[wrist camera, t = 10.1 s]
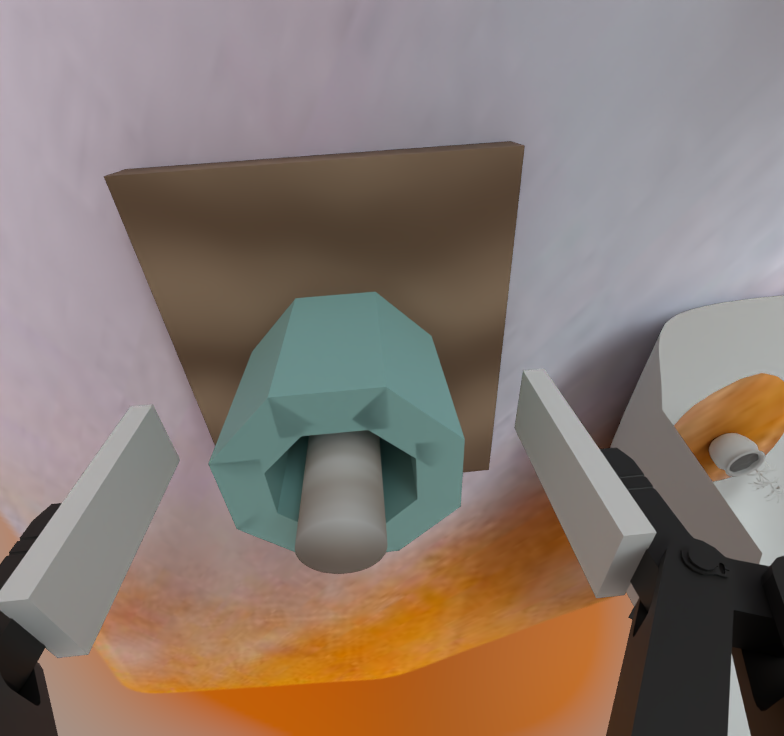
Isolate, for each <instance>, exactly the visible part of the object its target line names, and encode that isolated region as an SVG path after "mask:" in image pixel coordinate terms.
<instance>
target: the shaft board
mask: <svg viewBox="0 0 784 736" xmlns="http://www.w3.org/2000/svg"><path fill="white" fill-rule="evenodd" d="M524 147H525V146H524V145H521V144H518V143H514V142H511V141H507V142H494V143H480V144H466V145H452V146H439V147H425V148H411V149H397V150H384V151H370V152H356V153H342V154H329V155H315V156H301V157H288V158H274V159H260V160H246V161H233V162H219V163H205V164H191V165H178V166H164V167H150V168H136V169H124V170H121V171H119V172H116V173H113V174H110V175H107V176H104V178H105V180H106V183H107V185H108V188H109V190H110V192H111V195H112V197H113V200H114V202H115V205H116V207H117V209H118V212H119V214H120V217H121V219H122V222H123V224H124V226H125V229H126V231H127V234H128V236H129V238H130V241H131V243H132V246H133V248H134V251H135V253H136V255H137V258H138V260H139V263H140V265H141V267H142V270H143V272H144V275H145V277H146V280H147V282H148V284H149V287H150V289H151V292H152V294H153V296H154V299H155V301H156V304H157V306H158V309H159V311H160V313H161V316H162V318H163V321H164V323H165V326H166V328H167V330H168V333H169V335H170V338H171V340H172V342H173V345H174V347H175V350H176V352H177V355H178V357H179V359H180V362H181V364H182V367H183V369H184V371H185V374H186V376H187V379H188V381H189V384H190V386H191V388H192V391H193V393H194V396H195V398H196V400H197V403H198V405H199V408H200V410H201V413H202V415H203V417H204V420H205V422H206V425H207V427H208V429H209V432H210V434H211V437H212V439H213V442H214V444H215V446H216V443H217V441H218V438H219V436H220V433H221V430H222V428H223V425H224V423H225V420H226V418H227V415H228V412H229V410H230V407H231V405H232V402H233V400H234V397H235V394H236V392H237V389H238V387H239V384H240V381H241V379H242V376H243V374H244V371H245V369H246V366H247V363H248V361H249V358H250V356H251V353H252V351H253V350H254V349H255V347H256V346H257V345H258V344H259V343H260V341H261V340H262V339H263V338H264V336H265V335H266V334H267V333H268V332H269V330H270V329H271V328H272V327H273V325H274V324H275V323H276V322H277V320H278V319H279V318H280V317H281V316H282V314H283V313H284V312H285V311H286V309H287V308H288V307H289V306H290V305H291V303H292V302H293V301H294V300H295V298H304V297H317V296H329V295H341V294H353V293H365V292H377V293H378V294H379V295H380V296H382V297H383V298H384V299H385V300H387V301H388V302H389V303H390V304H392V305H393V306H394V307H396V308H397V309H398V310H399V311H401V312H402V313H403V314H404V315H406V316H407V317H408V318H409V319H411V320H412V321H413V322H415V323H416V324H417V325H418V326H420V327H421V328H422V329H423V330H425V331H426V332H427V333H428V334H430V335H431V336H432V339H433V342H434V345H435V348H436V351H437V354H438V358H439V361H440V364H441V367H442V370H443V373H444V376H445V379H446V382H447V386H448V389H449V392H450V395H451V398H452V401H453V404H454V407H455V410H456V413H457V417H458V420H459V423H460V426H461V429H462V432H463V435H464V438H465V444H464V460H463V472H471V471H481V470H489V462H490V453H491V444H492V435H493V426H494V417H495V408H496V399H497V390H498V381H499V372H500V363H501V354H502V345H503V336H504V327H505V318H506V309H507V300H508V291H509V282H510V273H511V264H512V255H513V246H514V237H515V228H516V219H517V210H518V201H519V192H520V183H521V174H522V165H523V156H524ZM386 551H387V531H386V518H385V505H384V492H383V479H382V466H381V453H380V440H379V436H377V435H376V434H374V433H372V432H371V431H369V430H363V431H352V432H341V433H331V434H320V435H309V440H308V448H307V455H306V463H305V471H304V479H303V487H302V494H301V502H300V510H299V518H298V526H297V533H296V541H295V553H296V555H297V557H298V558H299V560H300V561H301V562H302V563H303V564H305V565H306V566H308V567H310V568H312V569H314V570H317V571H320V572H325V573H333V574H344V573H353V572H357V571H361V570H364V569H366V568H369V567H371V566H373V565H374V564H376V563H377V562H378V561H380V560H381V559H382V557H383V556H384V555H385V553H386Z"/></svg>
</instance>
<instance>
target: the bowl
mask: <svg viewBox="0 0 784 736" xmlns="http://www.w3.org/2000/svg"><path fill="white" fill-rule="evenodd" d="M759 373H766V374H771V375H774V376H778V377H779V378H781V379H782V380H783V381H784V295H783V296H772V297H763V298H753V299H744V300H737V301H731V302H724V303H718V304H712V305H708V306H704V307H699V308H695V309H691V310H688V311H686V312H683V313H680V314H678V315H675V316H674V317H673V318H671V319H670V320H669V321H668V322H666V323H665V325H664V327H663V329H662V331H661V333H660V335H659V337H658V339H657V341H656V344H655V346H654V348H653V350H652V352H651V354H650V357H649V359H648V361H647V363H646V365H645V367H644V369H643V372H642V374H641V376H640V378H639V381H638V383H637V385H636V387H635V390H634V392H633V394H632V396H631V398H630V401H629V403H628V405H627V407H626V410H625V412H624V414H623V417H622V419H621V422H620V424H619V427H618V429H617V432H616V434H615V436H614V438H613V441H612V444H611V447H610V448H618V449H620V450H621V451H622V452H624V453H625V454H626V455H628V456H629V457H630V458H632V459H633V460H634V461H635V463H636V464H637V465H638V467H639V468H640V469H641V471H642V472H643V473H644V476H645V477H647V478H648V480H649V481H650V482H651V484H652V485H653V488H654V489H656V490H657V492H658V493H659V494H660V496H661V497H662V498H663V500H664V501H665V502H666V503H667V505H668V506H669V507H670V509H671V510H672V511H673V513H674V514H675V515H676V517H677V518H678V519H679V521H680V522H681V523H682V525H683V526H684V527H685V528H686V530H687V531H688V532H689V533H690V535H691V536H692V537H693V538H695V539H698V540H702V541H704V542H706V543H707V544H709V545H711V546H713V547H715V548H716V549H717V550H718V551H719V552H720V553H722V554H723V555H724V556H725V557H727V558H731V559H734V560H740V561H745V562H750V563H755V564H761V565H766V566H770V565H771V564H772V563H773V561H774V560H775V559H776V558H777V557H781V556H784V434H783V435H782V437H781V438H780V440H779V441H778V442H777V444H776V445H775V446H774V447H773V449H772V450H771V451H770V452H769V453H768V454H767V455H766V456H765V454H764V453H763V452H762V451H758V447H757V445H756V444H755V443H754V442H753V441H751V440H750V439H748V438H747V437H745V436H742V435H740V434H737V433H728V434H723V435H721V436H719V437H717V438H716V439H714V440H713V441H712V443H711V444H710V447H709V454H710V456H711V458H712V460H713V461H714V463H715V464H716V465H717V467H719V468H720V469H723V470H725V471H726V474H727V475H729V476H732V477H730V478H727V479H724V480H720V481H715V482H712V480H711V479H710V478H709V476H708V475H707V473H706V472H705V470H704V469H703V467H702V466H701V465H700V463H699V462H698V460H697V459H696V457H695V456H694V455H693V453H692V452H691V450H690V449H689V447H688V446H687V445H686V443H685V442H684V440H683V439H682V437H681V436H680V434H679V433H678V432H677V430H676V429H675V427H674V425H675V424H676V422H677V421H678V420H679V419H680V418H681V417H682V416H683V415H684V414H685V413H686V412H687V411H688V410H689V409H690V408H691V407H692V406H694V405H695V404H696V403H698V402H700V401H701V400H703V399H704V398H706V397H707V396H709V395H710V394H712V393H714V392H716V391H718V390H719V389H721V388H723V387H725V386H727V385H729V384H731V383H733V382H735V381H737V380H739V379H742V378H745V377H748V376H752V375H755V374H759ZM626 593H627V595H628V597H629V598H630V600H631V602H632V604H633V605H634V606H635V605H636V603H637V601H638V599H639V596H638V595H637V593H636V591H635V589H634V588H633V586H632V584H630V586H629V588H628V589H627V591H626ZM728 736H751V734H750V730H749V726H748V721H747V717H746V713H745V709H744V704H743V700H742V696H741V692H740V687H739V683H738V679H737V674H736V670H735V666H734V662H733V657H732V654H731V675H730V696H729V717H728Z"/></svg>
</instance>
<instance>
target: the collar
mask: <svg viewBox="0 0 784 736" xmlns="http://www.w3.org/2000/svg"><path fill="white" fill-rule="evenodd" d="M363 430H369V431H371V432H372V433H374V434H376V435H377V436H379V440H380V453H381V466H382V479H383V492H384V505H385V518H386V531H387V551H386V552H391V551H399V550H400V549H402V548H403V547H405V546H406V545H407V544H409V543H410V542H412V541H413V540H414V539H416V538H417V537H419V536H420V535H421V534H423V533H424V532H426V531H427V530H428V529H430V528H431V527H433V526H434V525H435V524H437V523H438V522H440V521H441V520H442V519H444V518H445V517H447V516H448V515H449V514H451V513H452V512H453V511H455V510H456V509H458V508H459V507H461V492H462V476H463V460H464V444H465V438H464V435H463V432H462V429H461V426H460V423H459V420H458V417H457V413H456V410H455V407H454V404H453V401H452V398H451V395H450V392H449V389H448V386H447V382H446V379H445V376H444V373H443V370H442V367H441V364H440V361H439V358H438V354H437V351H436V348H435V345H434V342H433V339H432V336H431V335H430V334H428V333H427V332H426V331H425V330H423V329H422V328H421V327H420V326H418V325H417V324H416V323H415V322H413V321H412V320H411V319H409V318H408V317H407V316H406V315H404V314H403V313H402V312H401V311H399V310H398V309H397V308H396V307H394V306H393V305H392V304H390V303H389V302H388V301H387V300H385V299H384V298H383V297H382V296H380V295H379V294H378V293H377V292H365V293H353V294H341V295H329V296H317V297H304V298H295V300H294V301H293V302H292V303H291V305H290V306H289V307H288V308H287V309H286V311H285V312H284V313H283V314H282V316H281V317H280V318H279V319H278V320H277V322H276V323H275V324H274V325H273V327H272V328H271V329H270V330H269V332H268V333H267V334H266V335H265V336H264V338H263V339H262V340H261V341H260V343H259V344H258V345H257V346H256V347H255V349H254V350H253V351H252V353H251V356H250V358H249V361H248V363H247V366H246V369H245V371H244V374H243V376H242V379H241V381H240V384H239V387H238V389H237V392H236V394H235V397H234V400H233V402H232V405H231V407H230V410H229V412H228V415H227V418H226V420H225V423H224V425H223V428H222V430H221V433H220V436H219V438H218V441H217V443H216V446H215V448H214V451H213V454H212V456H211V459H210V461H209V466H210V469H211V471H212V473H213V475H214V478H215V480H216V482H217V484H218V487H219V489H220V491H221V494H222V496H223V498H224V500H225V503H226V505H227V507H228V510H229V512H230V514H231V516H232V519H233V521H234V523H235V526H236V528H237V529H238V530H241V531H243V532H246V533H248V534H251V535H253V536H256V537H258V538H261V539H263V540H266V541H268V542H271V543H273V544H276V545H279V546H281V547H284V548H286V549H289V550H291V551H294V552H295V541H296V533H297V526H298V518H299V510H300V502H301V494H302V487H303V479H304V471H305V463H306V455H307V448H308V440H309V435H320V434H331V433H341V432H352V431H363Z"/></svg>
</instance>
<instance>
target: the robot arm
mask: <svg viewBox="0 0 784 736" xmlns="http://www.w3.org/2000/svg"><path fill="white" fill-rule="evenodd" d="M514 428H515V430H516V432H517V434H518V436H519V438H520V440H521V442H522V444H523V446H524V448H525V451H526V453H527V455H528V457H529V459H530V461H531V463H532V465H533V467H534V469H535V471H536V473H537V476H538V478H539V480H540V482H541V484H542V486H543V488H544V490H545V492H546V494H547V496H548V499H549V501H550V503H551V505H552V507H553V509H554V511H555V513H556V515H557V517H558V519H559V521H560V524H561V526H562V528H563V530H564V532H565V534H566V536H567V538H568V540H569V542H570V544H571V547H572V549H573V551H574V553H575V555H576V557H577V559H578V561H579V563H580V565H581V567H582V569H583V572H584V574H585V576H586V578H587V580H588V582H589V584H590V586H591V588H592V590H593V592H594V594H595V597H596V598H603V597H612V596H621V595H625V593H626V591H627V589H628V588H629V586H630V584H632V586H633V588H634V589H635V591H636V593H637V595H638V596H639V599H638V601H637V603H636V605H635V606H634V608H633V610H632V612H631V614H630V615H629V618H631V619H632V625H631V629H630V633H629V638H628V642H627V646H626V651H625V655H624V659H623V664H622V668H621V673H620V677H619V681H618V686H617V690H616V695H615V699H614V703H613V708H612V712H611V717H610V721H609V725H608V730H607V734H606V736H728V717H729V696H730V675H731V654H732V657H733V662H734V666H735V670H736V674H737V679H738V683H739V687H740V692H741V696H742V700H743V704H744V709H745V713H746V717H747V721H748V726H749V730H750V734H751V736H784V556H781V557H777V558H776V559H775V560H774V561H773V563H772V564H771V565H770V566H766V565H761V564H755V563H750V562H745V561H740V560H734V559H731V558H727V557H725V556H724V555H723V554H722V553H720V552H719V551H718V550H717V549H716V548H715V547H713V546H711V545H709V544H707V543H706V542H704V541H702V540H698V539H695V538H693V537H692V536H691V535H690V533H689V532H688V531H687V530H686V528H685V527H684V526H683V525H682V523H681V522H680V521H679V519H678V518H677V517H676V515H675V514H674V513H673V511H672V510H671V509H670V507H669V506H668V505H667V503H666V502H665V501H664V500H663V498H662V497H661V496H660V494H659V493H658V492H657V490H656V489H654V488H653V485H652V484H651V482H650V481H649V480H648V478H647V477H645V476H644V473H643V472H642V471H641V469H640V468H639V467H638V465H637V464H636V463H635V461H634V460H633V459H632V458H630V457H629V456H628V455H626V454H625V453H624V452H622V451H621V450H620V449H618V448H606V449H599V448H598V446H597V445H596V444H595V442H594V441H593V439H592V438H591V436H590V435H589V433H588V432H587V430H586V429H585V428H584V426H583V425H582V423H581V422H580V420H579V419H578V417H577V416H576V414H575V413H574V412H573V410H572V409H571V407H570V406H569V404H568V403H567V401H566V400H565V398H564V397H563V396H562V394H561V393H560V391H559V390H558V388H557V387H556V385H555V384H554V382H553V381H552V380H551V378H550V377H549V375H548V374H547V372H546V371H545V369H535V370H524V371H523V374H522V381H521V388H520V394H519V401H518V408H517V414H516V421H515V427H514ZM179 461H180V459H179V457H178V455H177V453H176V451H175V449H174V447H173V445H172V443H171V441H170V439H169V436H168V434H167V432H166V430H165V428H164V426H163V424H162V422H161V420H160V418H159V416H158V414H157V412H156V410H155V408H154V406H153V404H152V405H142V406H131V407H130V408H129V409H128V411H127V412H126V413H125V415H124V416H123V418H122V419H121V420H120V422H119V423H118V425H117V426H116V428H115V429H114V430H113V432H112V433H111V435H110V436H109V437H108V439H107V440H106V442H105V443H104V444H103V446H102V447H101V449H100V450H99V452H98V453H97V454H96V456H95V457H94V459H93V460H92V461H91V463H90V464H89V466H88V467H87V469H86V470H85V471H84V473H83V474H82V476H81V477H80V478H79V480H78V481H77V483H76V484H75V486H74V487H73V488H72V490H71V491H70V493H69V494H68V495H67V497H66V498H65V500H64V501H63V502H62V503H59V504H51V505H50V506H49V507H48V508H47V509H46V510H44V511H43V512H42V513H41V514H40V515H39V516H37V517H36V518H35V519H34V520H33V521H32V522H31V524H30V525H29V526H28V528H27V529H26V530H25V532H24V533H23V534H22V536H21V537H20V541H17V543H16V544H15V545H14V547H13V548H12V549H11V551H10V552H9V556H6V557H5V559H4V560H3V561H2V563H1V564H0V736H58V734H57V729H56V725H55V720H54V716H53V712H52V707H51V703H50V698H49V694H48V690H47V685H46V681H45V676H44V672H43V669H42V667H41V666H40V664H39V663H38V662H37V661H38V660H39V658H40V656H41V654H42V652H43V651H44V649H45V648H46V649H47V650H48V651H50V652H51V653H52V654H53V655H54V656H56V657H57V658H62V657H71V656H80V655H88V654H89V652H90V650H91V648H92V646H93V644H94V642H95V640H96V637H97V635H98V633H99V631H100V629H101V627H102V625H103V623H104V620H105V618H106V616H107V614H108V612H109V610H110V608H111V605H112V603H113V601H114V599H115V597H116V595H117V593H118V591H119V588H120V586H121V584H122V582H123V580H124V578H125V576H126V574H127V571H128V569H129V567H130V565H131V563H132V561H133V559H134V557H135V554H136V552H137V550H138V548H139V546H140V544H141V542H142V540H143V537H144V535H145V533H146V531H147V529H148V527H149V525H150V523H151V520H152V518H153V516H154V514H155V512H156V510H157V508H158V506H159V503H160V501H161V499H162V497H163V495H164V493H165V491H166V489H167V486H168V484H169V482H170V480H171V478H172V476H173V474H174V471H175V469H176V467H177V465H178V463H179Z"/></svg>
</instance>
